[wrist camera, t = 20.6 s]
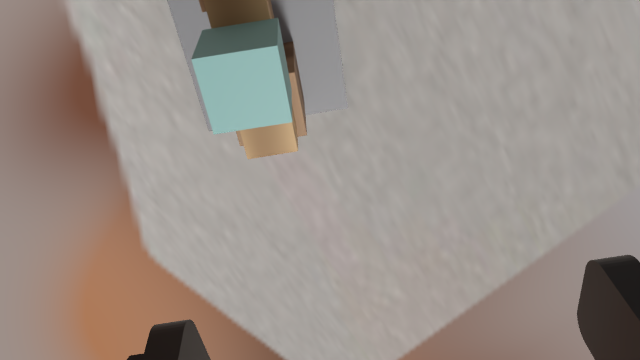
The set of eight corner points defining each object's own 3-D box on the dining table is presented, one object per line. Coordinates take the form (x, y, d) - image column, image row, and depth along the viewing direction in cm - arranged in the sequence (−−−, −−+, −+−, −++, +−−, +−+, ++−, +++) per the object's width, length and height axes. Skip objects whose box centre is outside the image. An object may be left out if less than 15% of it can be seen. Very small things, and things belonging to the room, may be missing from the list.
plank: (253, -80, 30) (251, -71, 28) (297, 129, 38) (298, 150, 36) (194, -70, 30) (186, -60, 28) (250, 137, 38) (247, 159, 36)
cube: (278, 17, 30) (277, 45, 27) (291, 88, 33) (292, 122, 29) (202, 30, 31) (191, 59, 27) (221, 98, 33) (213, 134, 29)
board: (313, -139, 34) (314, -139, 34) (347, 103, 45) (348, 108, 44) (136, -107, 35) (133, -105, 34) (210, 126, 45) (208, 131, 45)
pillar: (293, 41, 40) (294, 72, 36) (304, 99, 43) (306, 135, 38) (230, 52, 41) (222, 84, 36) (245, 108, 44) (240, 146, 39)
